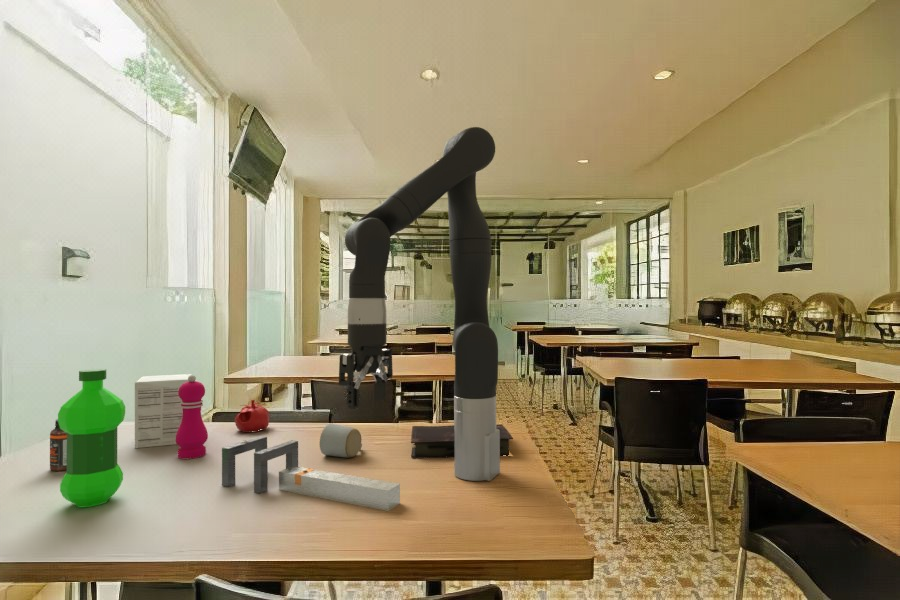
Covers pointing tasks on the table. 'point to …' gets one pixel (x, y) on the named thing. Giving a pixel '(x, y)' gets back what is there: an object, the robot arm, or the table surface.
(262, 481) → the collar
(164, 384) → the supplement box
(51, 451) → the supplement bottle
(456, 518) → the table surface
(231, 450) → the collar
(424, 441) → the diary
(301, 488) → the orange banded bar
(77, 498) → the plastic bottle
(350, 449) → the ceramic mug
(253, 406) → the pomegranate
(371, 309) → the robot arm
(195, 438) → the pepper mill
